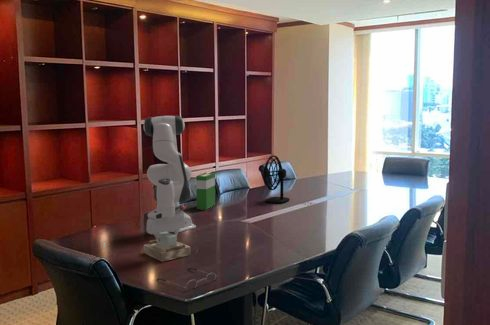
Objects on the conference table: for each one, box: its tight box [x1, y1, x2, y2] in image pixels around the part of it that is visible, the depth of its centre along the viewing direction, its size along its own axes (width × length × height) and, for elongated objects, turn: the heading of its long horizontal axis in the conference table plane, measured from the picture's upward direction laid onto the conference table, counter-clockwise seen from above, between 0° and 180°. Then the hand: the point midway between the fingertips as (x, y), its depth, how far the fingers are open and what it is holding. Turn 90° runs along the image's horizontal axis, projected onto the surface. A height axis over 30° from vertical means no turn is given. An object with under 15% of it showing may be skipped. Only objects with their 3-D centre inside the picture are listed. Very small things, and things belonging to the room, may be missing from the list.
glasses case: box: [157, 232, 178, 248], centre depth 234 cm, size 4×12×6 cm, turn 38°
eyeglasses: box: [156, 267, 218, 291], centre depth 199 cm, size 18×19×4 cm
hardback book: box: [195, 172, 216, 211], centre depth 340 cm, size 18×7×24 cm, turn 164°
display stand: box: [142, 239, 192, 263], centre depth 234 cm, size 16×18×6 cm
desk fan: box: [262, 155, 291, 204], centre depth 361 cm, size 27×18×35 cm, turn 150°
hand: (166, 239), depth 234 cm, fingers open, 8 cm apart
